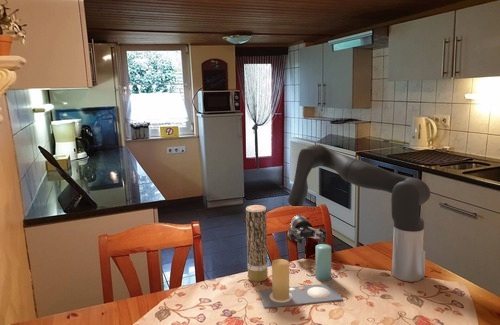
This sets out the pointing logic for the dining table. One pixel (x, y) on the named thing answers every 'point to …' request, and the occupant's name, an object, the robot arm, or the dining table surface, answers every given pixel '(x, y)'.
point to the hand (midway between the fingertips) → (312, 240)
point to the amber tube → (280, 279)
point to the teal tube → (323, 262)
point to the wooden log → (256, 242)
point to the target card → (302, 295)
